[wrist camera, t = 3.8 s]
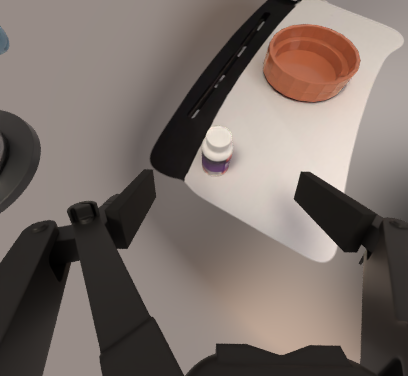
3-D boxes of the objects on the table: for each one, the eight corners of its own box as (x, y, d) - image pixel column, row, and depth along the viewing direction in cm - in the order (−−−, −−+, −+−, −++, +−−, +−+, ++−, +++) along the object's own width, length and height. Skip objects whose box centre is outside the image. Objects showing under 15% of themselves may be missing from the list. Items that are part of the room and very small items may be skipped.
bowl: (251, 87, 37) (257, 66, 33) (276, 39, 42) (284, 15, 38) (333, 115, 34) (351, 96, 30) (348, 60, 40) (366, 38, 35)
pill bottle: (228, 177, 30) (237, 151, 22) (201, 176, 30) (200, 150, 22) (228, 154, 31) (236, 122, 24) (202, 153, 31) (202, 120, 24)
